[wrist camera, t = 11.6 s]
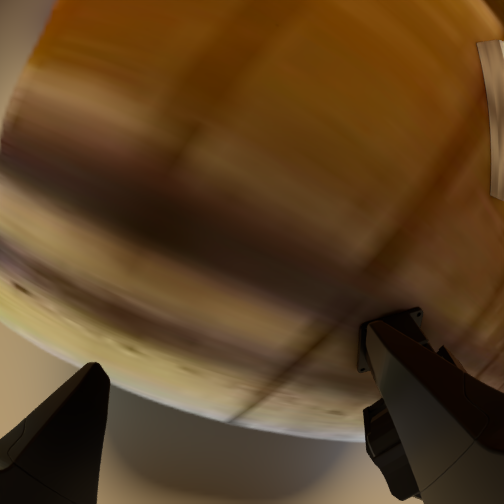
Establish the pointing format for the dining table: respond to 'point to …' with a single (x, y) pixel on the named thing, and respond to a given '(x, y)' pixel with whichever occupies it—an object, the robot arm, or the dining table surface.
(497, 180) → the tray
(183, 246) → the dining table surface
